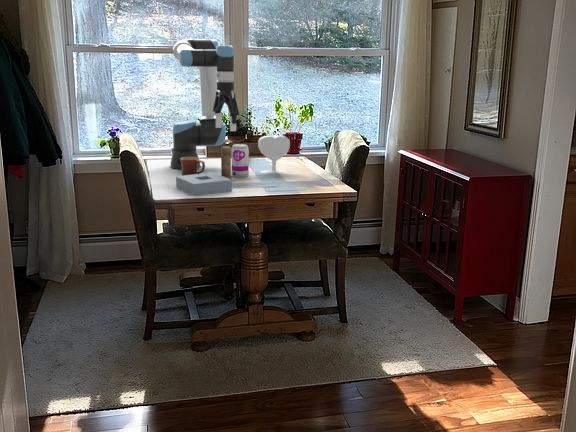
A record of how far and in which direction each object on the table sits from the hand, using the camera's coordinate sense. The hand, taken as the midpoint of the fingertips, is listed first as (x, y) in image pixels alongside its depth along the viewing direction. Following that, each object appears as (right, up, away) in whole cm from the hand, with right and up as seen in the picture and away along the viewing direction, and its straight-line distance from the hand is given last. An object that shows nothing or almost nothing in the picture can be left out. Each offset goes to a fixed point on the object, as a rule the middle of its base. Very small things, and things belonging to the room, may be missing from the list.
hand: (225, 129), depth 279 cm
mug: (-16, -23, +8) cm, 29 cm away
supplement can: (+5, -20, +19) cm, 28 cm away
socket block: (-9, -28, -9) cm, 30 cm away
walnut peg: (0, -23, +7) cm, 24 cm away
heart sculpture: (+21, -17, +31) cm, 41 cm away
